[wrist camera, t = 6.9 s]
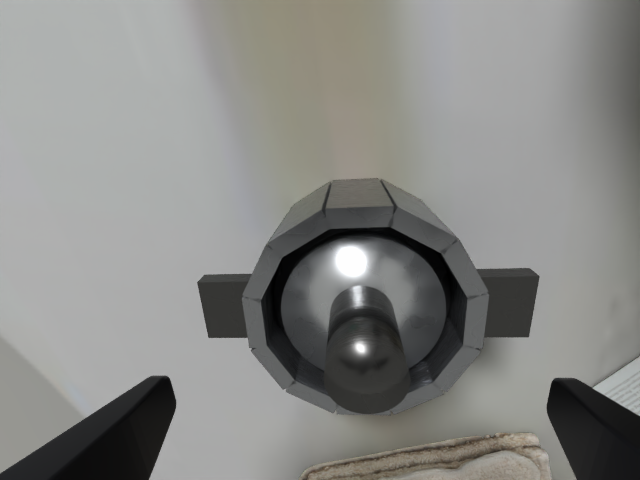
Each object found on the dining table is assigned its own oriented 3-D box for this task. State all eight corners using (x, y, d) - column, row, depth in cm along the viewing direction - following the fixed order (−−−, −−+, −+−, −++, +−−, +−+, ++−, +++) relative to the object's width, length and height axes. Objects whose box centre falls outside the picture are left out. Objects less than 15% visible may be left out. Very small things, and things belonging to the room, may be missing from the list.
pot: (494, 172, 18) (572, 198, 11) (476, 331, 21) (529, 418, 15) (226, 185, 19) (168, 214, 13) (249, 332, 22) (212, 411, 16)
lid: (445, 226, 14) (495, 279, 9) (435, 365, 16) (471, 464, 12) (277, 232, 15) (244, 283, 10) (292, 364, 17) (270, 457, 12)
